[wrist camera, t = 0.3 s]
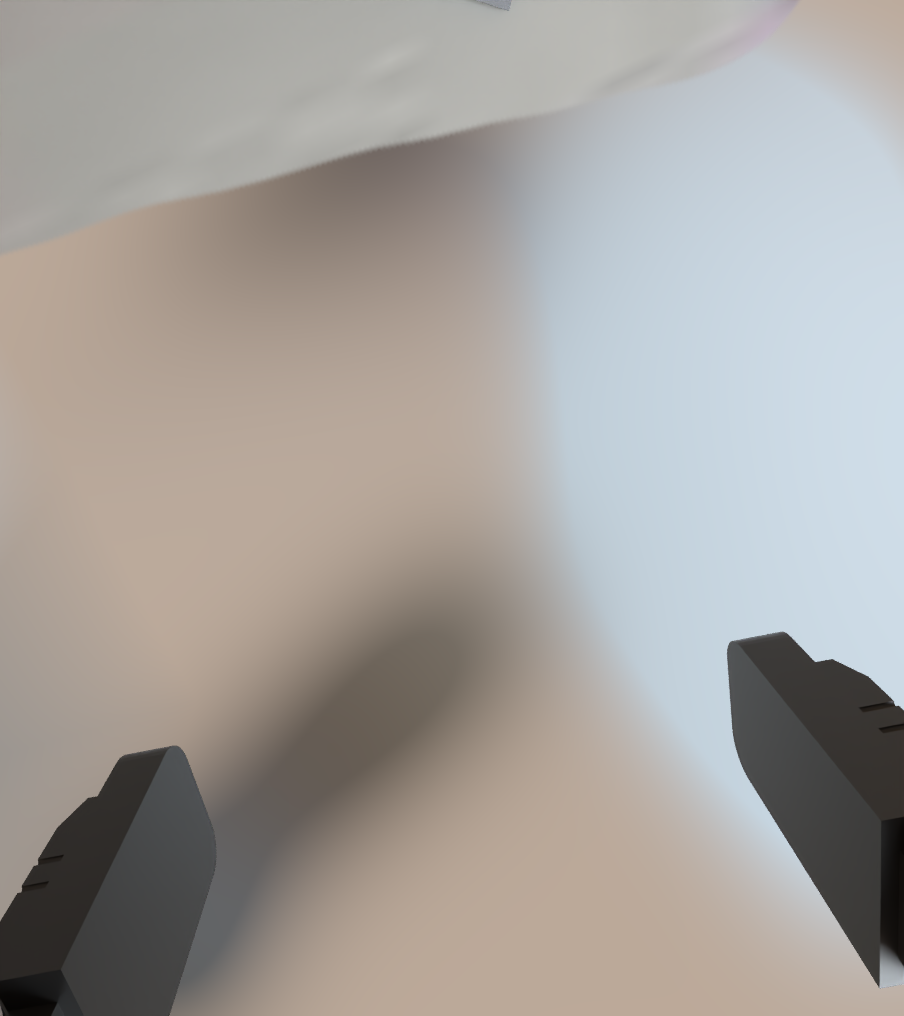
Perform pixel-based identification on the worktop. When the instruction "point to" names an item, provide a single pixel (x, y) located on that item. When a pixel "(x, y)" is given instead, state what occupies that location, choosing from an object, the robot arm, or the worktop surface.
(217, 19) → the worktop surface
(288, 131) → the worktop surface
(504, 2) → the mat
